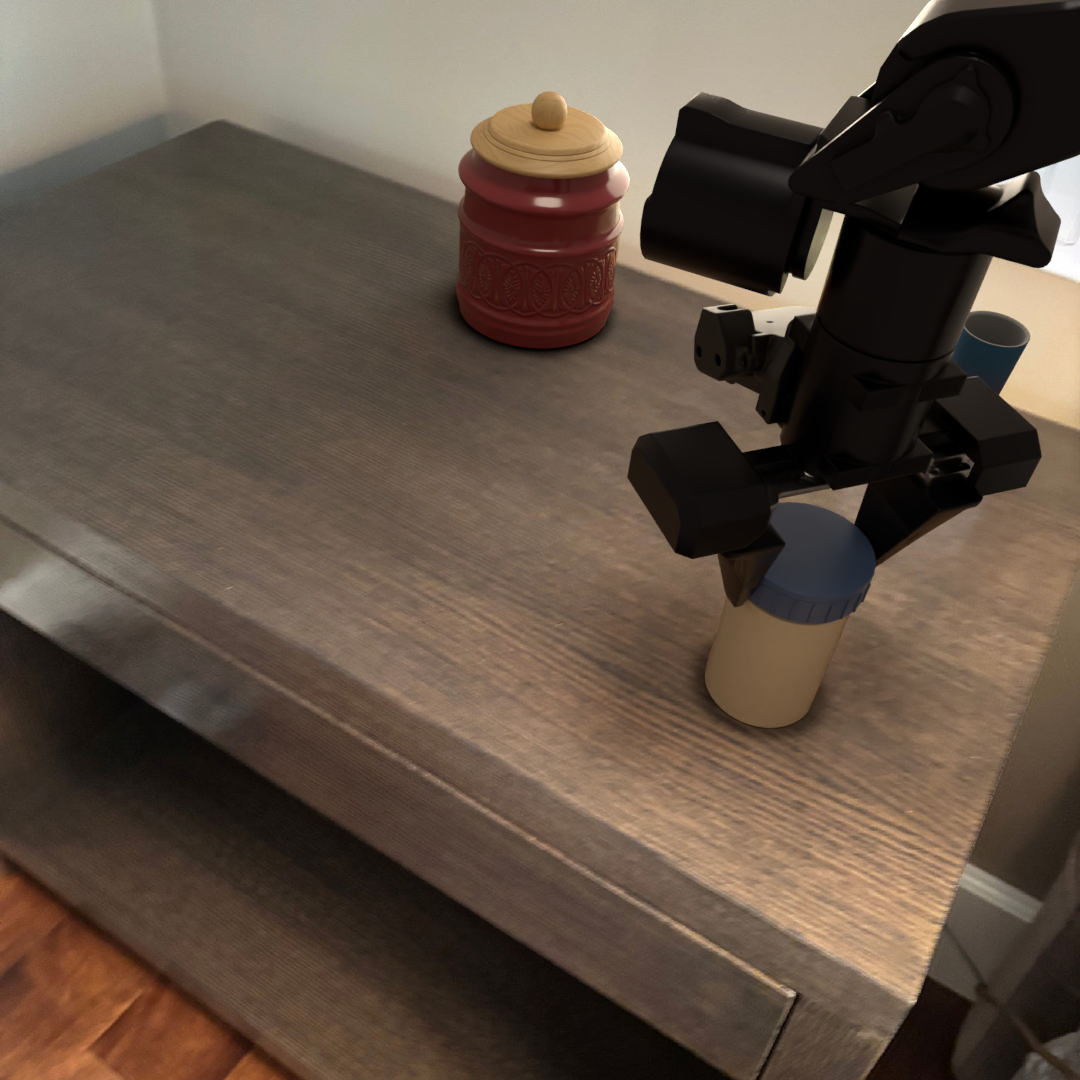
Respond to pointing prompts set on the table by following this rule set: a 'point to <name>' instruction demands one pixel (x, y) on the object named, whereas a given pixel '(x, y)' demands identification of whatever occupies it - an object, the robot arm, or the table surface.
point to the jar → (768, 664)
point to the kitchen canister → (540, 224)
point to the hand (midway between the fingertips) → (793, 586)
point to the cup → (990, 347)
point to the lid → (816, 566)
